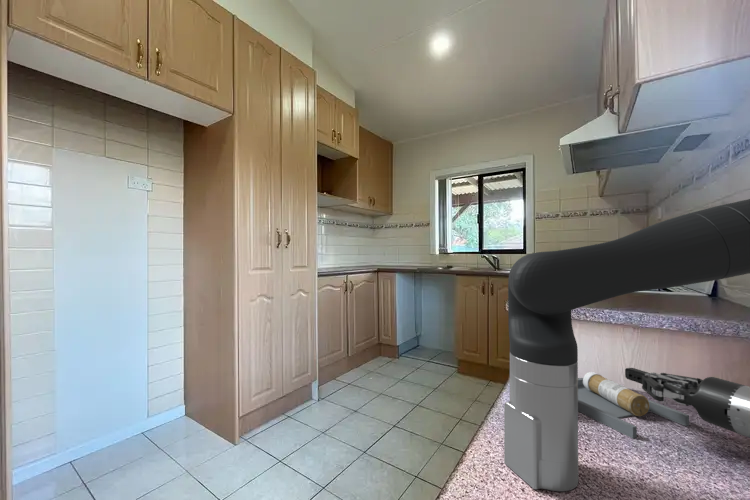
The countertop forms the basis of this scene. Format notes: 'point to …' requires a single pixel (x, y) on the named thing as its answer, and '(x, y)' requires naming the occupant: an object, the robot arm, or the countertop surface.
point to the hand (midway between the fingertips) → (627, 372)
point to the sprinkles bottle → (616, 393)
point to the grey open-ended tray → (620, 411)
